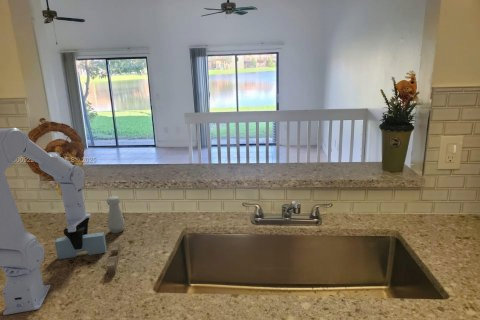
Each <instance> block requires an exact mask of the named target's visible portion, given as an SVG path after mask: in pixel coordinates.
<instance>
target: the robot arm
mask: <svg viewBox="0 0 480 320" xmlns="http://www.w3.org/2000/svg"><path fill="white" fill-rule="evenodd" d="M20 156H23V157H25V158H27V159H29V160H31V161H33V162H35V163H37V164H38V168H39V170H41V171H42V172H44V173H46V174H47V175H49V176H51V177H52V178H53V180H54V182H55V183H56V184H59V187H60V191H61V195H62V196H61V197H62V202H63V208H64V213H65V221H66V224H67V228H64V229H63V234H64V236H65V237H68V239H69V240H70V242H71V244H72V246H73V248H74V249H75V250H77V249H82V246H83V235H86V234H89V233H88V229H89V222H90V218H91V216H92V214H91V213H90V212H88V213H87V209H86V202H85V197H84V191H83V187H84V178H85V171H84V170H83V168H82V167H81V166H80V165H78V164H72V163H71V162H70V160H68V159H65V158H63V157H61V154H60V153H59V152H57V151H56V152H55V151H53V152H52V151H51V152H47V151H46V150H44V148H42V147H40V146H39V145H38V144H37V143H35V142H34V141H32V140H31V139H30V138H29V134H28V133H27V132H24V131H22V130H21V129H20V128H17V127H10V128H0V268H1V270H2V272H3V273H4V274H5V280H6V281H5V285H4V286H3V289H2V296H3V300H4V301H3V302H4V304H5V309H4V311H3V312H2V314H3V316H6V315H11V314H19V313H23V312H24V313H25V312H30V311H34V310H35V311H36V310H39V309H41V306H42V305H43V303H44V301H45V298H46V296H47V295H48V293H49V290H50V289H51V285H50V284H47V285H44V281H43V276H42V270H41V267H40V266H41V265H42V263H43V261H44V259H45V253H46V252H45V248H44V246H43V245H42V243H40V242H39V241H38V238H37V236H35V235H34V234H32V233H31V232H29V231H27V230H26V228H25V225H24V222H23V220H22V217H21V214H20V212H19V210H18V209H19V208H18V207H17V204H16V201H15V199H14V195H13V193H12V191H11V190H12V189H11V187H10V184H9V182H8V179H7V176H6V175H5V172H6V171H7V169H9V168H10V167H11V166H12V165H13V164H14V163H15V162H16V160H18V158H19V157H20Z"/></svg>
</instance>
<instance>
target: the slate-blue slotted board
mask: <svg viewBox="0 0 480 320" xmlns="http://www.w3.org/2000/svg"><path fill="white" fill-rule="evenodd" d="M54 246H55V251H56V255H57V260H63V259H68V258H69V259H70V258H76V257H77V256H78V253H81V252H87V254H88V256H91V255H97V254H99V255H100V254H103V253H104V254H105V253H106V252H107V251H108V250H107V249H108V247H107V241H106V235H105V232H104V231H103V232H96V233H87V234H86V235H83V246H82V249H77V250H75V249H74V248H73V246H72V244H71V242H70V240H69V239H68V237H67V236H65V237H64V236H63V237H58V238H56V239H55V240H54Z"/></svg>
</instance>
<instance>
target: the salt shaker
mask: <svg viewBox="0 0 480 320" xmlns="http://www.w3.org/2000/svg"><path fill="white" fill-rule="evenodd" d="M120 202H121V198H120V196H117V195H112V196H109V197H107V199H106V204H107V205H108V206H109V207H108V208H109V210H108V221H107V222H108V224H107V228H108V229H109V231H110V232H111V233H112V234H119V233H123V231H124V229H125V225H126V221H125V219H124V216H123V213H122V209H121V207H120Z"/></svg>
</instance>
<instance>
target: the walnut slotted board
mask: <svg viewBox="0 0 480 320" xmlns="http://www.w3.org/2000/svg"><path fill="white" fill-rule="evenodd" d="M110 253H111V255H110V256H108V259H107V264H106V270H107V271H106V272H107V276H113V275H117V274H116V273H117V269H118V266H119V265H118V264H119V259H120V253H121V245H120V241H115V242H112V243H111V249H110Z"/></svg>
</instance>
